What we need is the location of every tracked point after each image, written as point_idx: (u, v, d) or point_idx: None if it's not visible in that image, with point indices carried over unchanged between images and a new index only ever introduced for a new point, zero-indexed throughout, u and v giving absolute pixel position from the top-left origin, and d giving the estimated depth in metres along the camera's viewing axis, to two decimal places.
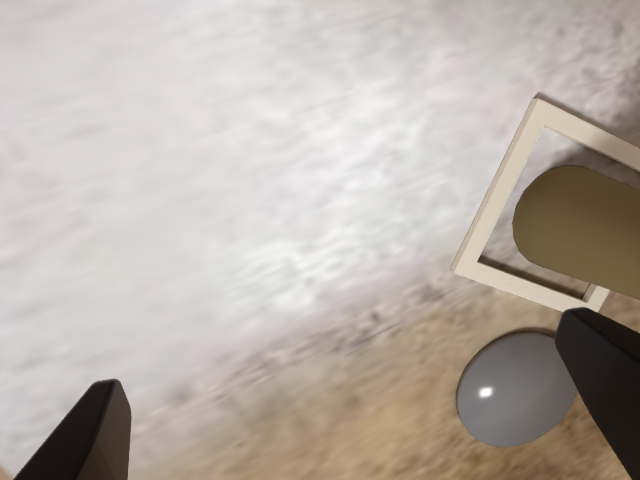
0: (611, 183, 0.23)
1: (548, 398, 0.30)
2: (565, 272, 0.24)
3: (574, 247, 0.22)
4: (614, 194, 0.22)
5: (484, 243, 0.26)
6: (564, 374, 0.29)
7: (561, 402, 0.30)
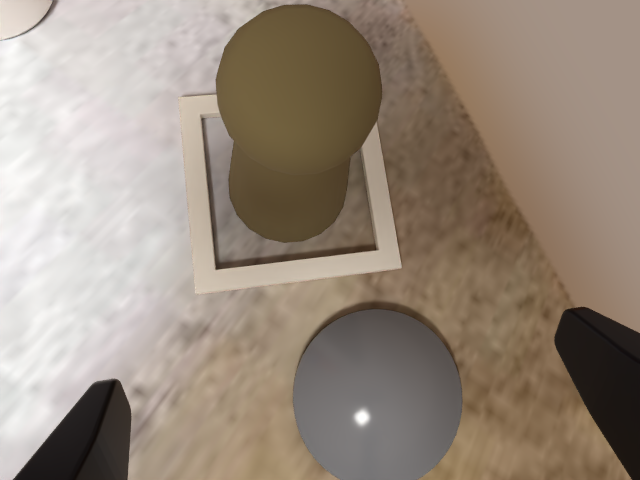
0: None
1: (422, 384, 0.22)
2: (283, 219, 0.20)
3: (243, 182, 0.19)
4: None
5: (210, 246, 0.22)
6: (418, 344, 0.22)
7: (444, 381, 0.22)
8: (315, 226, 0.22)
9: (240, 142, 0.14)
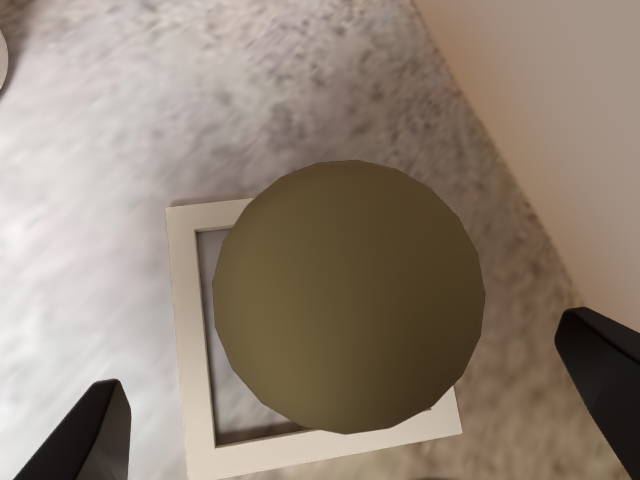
0: None
1: None
2: None
3: None
4: None
5: (208, 415, 0.17)
6: None
7: None
8: None
9: (253, 393, 0.08)
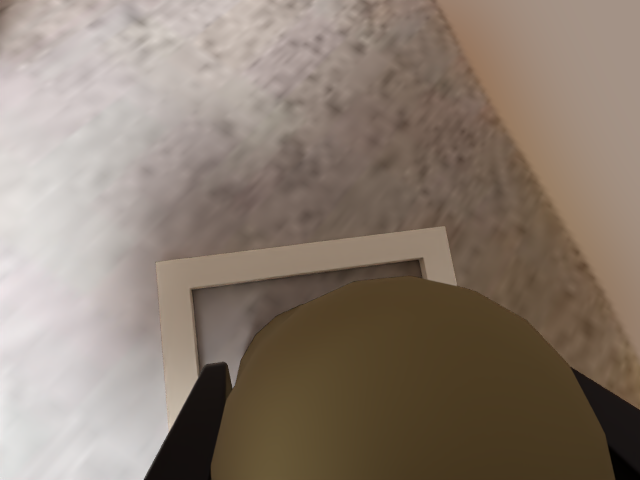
0: None
1: None
2: None
3: None
4: None
5: None
6: None
7: None
8: None
9: None
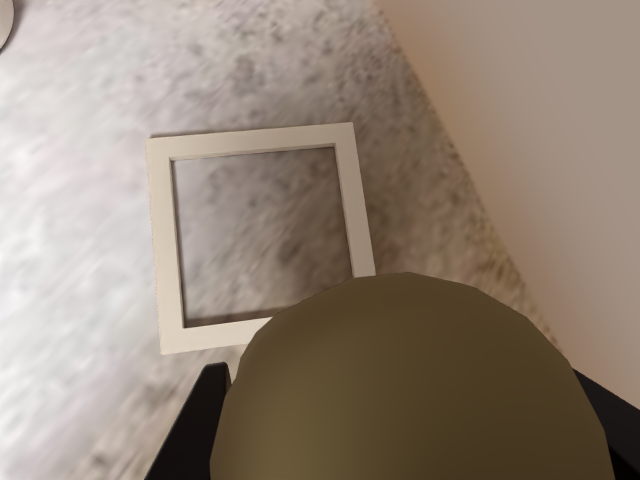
0: None
1: None
2: None
3: None
4: None
5: (178, 303, 0.21)
6: None
7: None
8: None
9: None
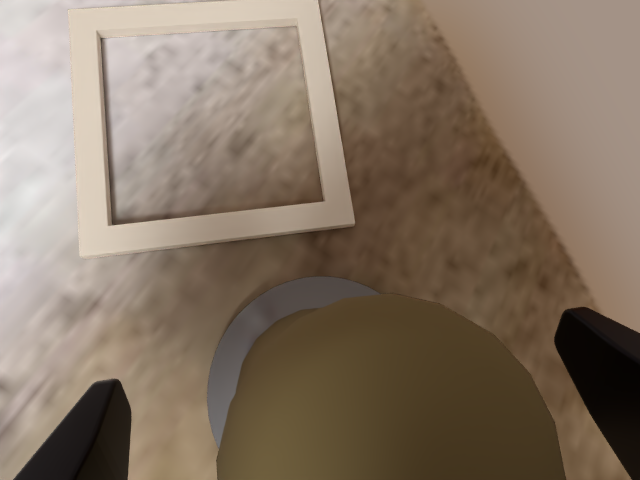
0: (285, 329, 0.13)
1: None
2: None
3: None
4: None
5: (103, 196, 0.17)
6: None
7: None
8: None
9: None
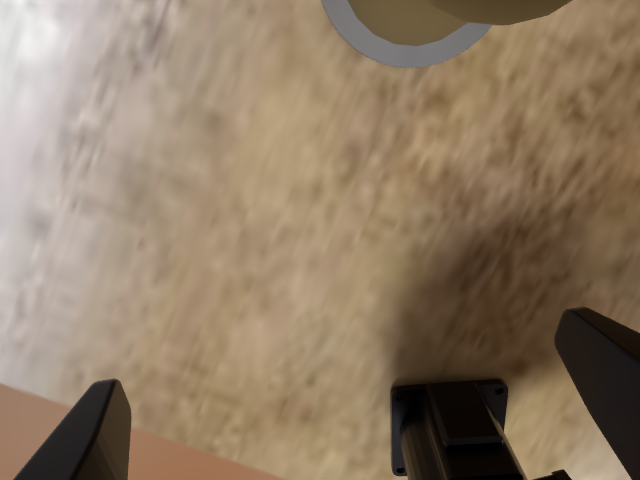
0: None
1: None
2: (431, 33, 0.16)
3: None
4: None
5: None
6: None
7: None
8: None
9: None
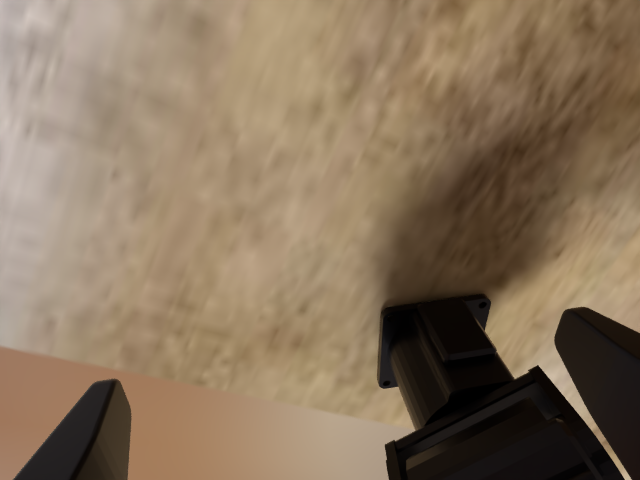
0: None
1: None
2: None
3: None
4: None
5: None
6: None
7: None
8: None
9: None
